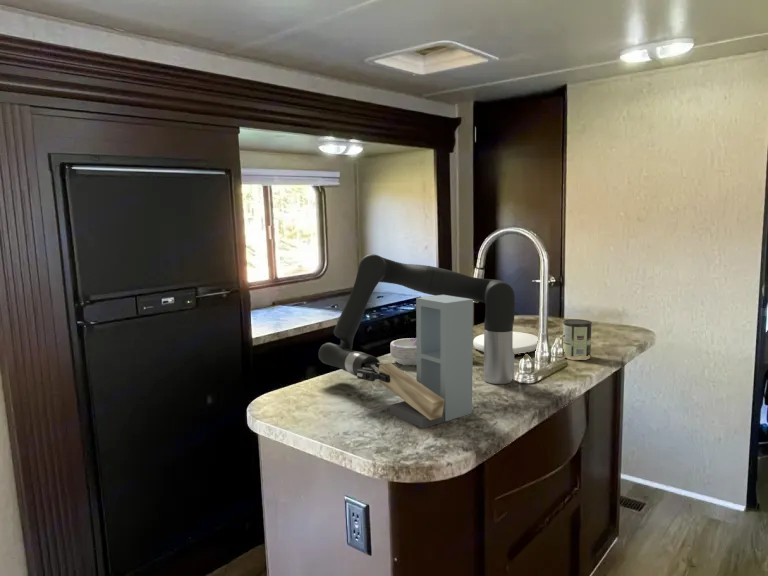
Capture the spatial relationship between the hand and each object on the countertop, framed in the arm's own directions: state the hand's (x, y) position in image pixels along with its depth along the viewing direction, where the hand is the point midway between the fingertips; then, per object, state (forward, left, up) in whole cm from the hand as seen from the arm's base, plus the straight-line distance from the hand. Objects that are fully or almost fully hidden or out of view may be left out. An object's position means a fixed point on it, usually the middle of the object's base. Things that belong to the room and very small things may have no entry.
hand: (395, 377), depth 159 cm
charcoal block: (0, +9, -9) cm, 13 cm away
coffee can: (-89, -3, -9) cm, 90 cm away
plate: (-79, -29, -10) cm, 85 cm away
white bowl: (-35, -37, -9) cm, 52 cm away
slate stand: (-9, +10, -9) cm, 16 cm away
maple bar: (0, +6, -4) cm, 7 cm away
